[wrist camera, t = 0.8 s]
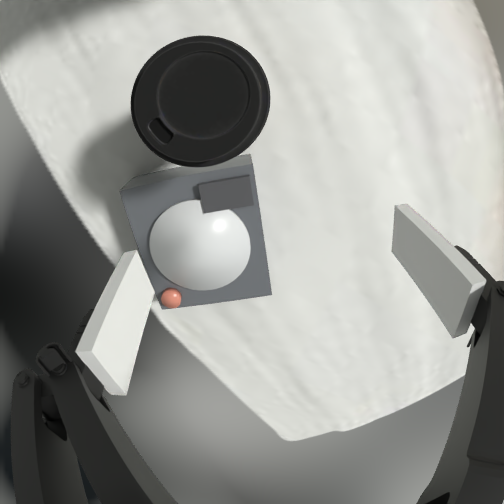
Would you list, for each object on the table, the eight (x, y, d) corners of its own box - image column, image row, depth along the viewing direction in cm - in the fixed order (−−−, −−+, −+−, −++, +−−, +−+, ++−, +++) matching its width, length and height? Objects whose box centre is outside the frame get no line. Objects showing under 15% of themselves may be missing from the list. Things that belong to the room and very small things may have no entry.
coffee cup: (158, 122, 30) (104, 146, 17) (191, 47, 26) (157, 13, 13) (234, 152, 32) (234, 195, 19) (271, 78, 28) (299, 65, 15)
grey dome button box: (133, 177, 33) (116, 193, 28) (250, 153, 32) (253, 166, 27) (168, 286, 41) (160, 314, 36) (268, 272, 40) (272, 300, 35)
